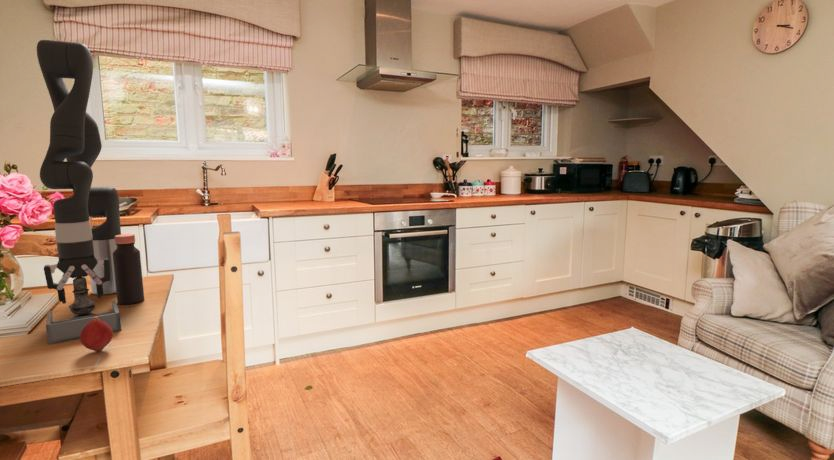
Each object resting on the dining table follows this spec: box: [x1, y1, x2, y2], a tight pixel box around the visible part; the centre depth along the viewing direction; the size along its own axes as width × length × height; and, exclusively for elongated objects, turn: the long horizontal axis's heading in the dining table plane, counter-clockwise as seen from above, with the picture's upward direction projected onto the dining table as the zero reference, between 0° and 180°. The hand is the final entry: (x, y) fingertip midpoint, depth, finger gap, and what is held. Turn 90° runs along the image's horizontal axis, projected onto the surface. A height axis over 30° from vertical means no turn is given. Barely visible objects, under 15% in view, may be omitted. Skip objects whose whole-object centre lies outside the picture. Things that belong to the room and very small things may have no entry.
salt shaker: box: [68, 277, 97, 318], centre depth 118 cm, size 6×6×12 cm
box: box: [45, 300, 122, 345], centre depth 110 cm, size 12×14×4 cm
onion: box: [79, 317, 114, 353], centre depth 98 cm, size 6×6×8 cm
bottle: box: [113, 233, 145, 306], centre depth 131 cm, size 7×7×20 cm
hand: (81, 300), depth 118 cm, fingers open, 7 cm apart
